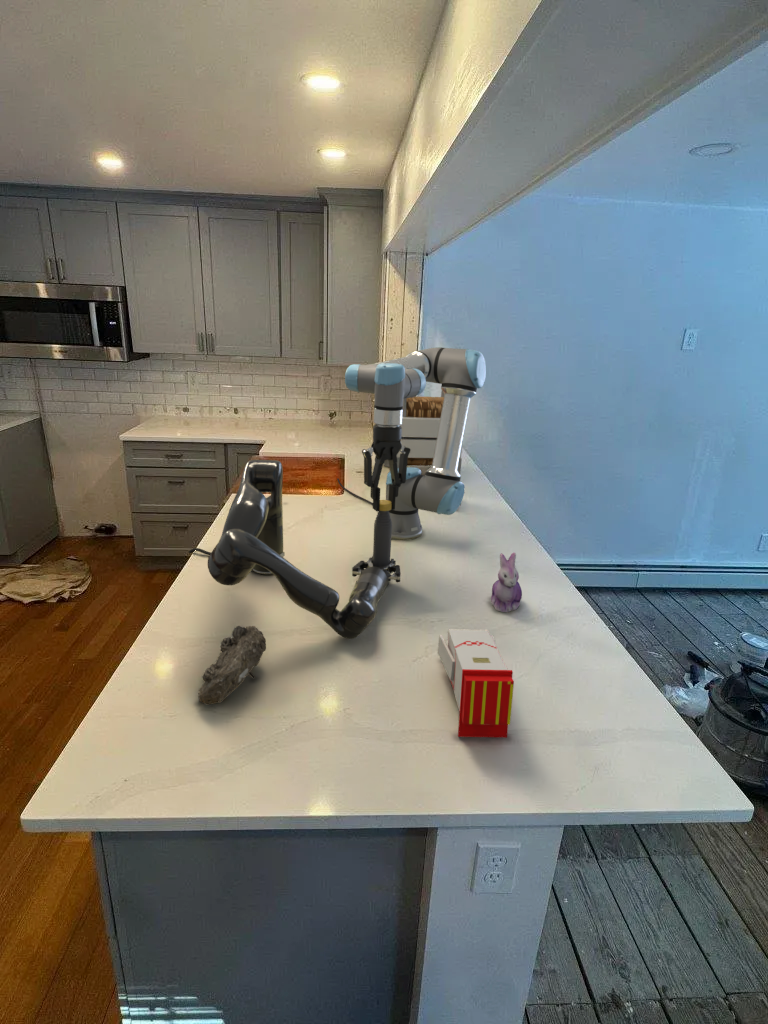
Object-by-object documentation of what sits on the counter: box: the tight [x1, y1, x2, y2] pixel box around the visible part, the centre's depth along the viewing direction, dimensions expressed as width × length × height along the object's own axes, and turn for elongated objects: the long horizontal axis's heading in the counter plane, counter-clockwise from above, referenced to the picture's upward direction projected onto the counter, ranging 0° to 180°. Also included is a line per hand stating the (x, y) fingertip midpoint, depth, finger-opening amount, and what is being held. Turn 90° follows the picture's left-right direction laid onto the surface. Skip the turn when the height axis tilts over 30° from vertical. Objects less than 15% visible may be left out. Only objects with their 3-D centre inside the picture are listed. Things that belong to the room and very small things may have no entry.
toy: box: [437, 628, 515, 738], centre depth 117 cm, size 12×13×30 cm
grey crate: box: [383, 390, 464, 475], centre depth 268 cm, size 34×33×41 cm
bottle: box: [372, 510, 392, 587], centre depth 160 cm, size 5×5×24 cm
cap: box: [379, 499, 392, 511], centre depth 156 cm, size 4×4×2 cm
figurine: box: [490, 551, 523, 613], centre depth 152 cm, size 9×10×15 cm
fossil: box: [197, 625, 267, 705], centre depth 118 cm, size 22×10×15 cm
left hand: (383, 560), depth 164 cm, fingers closed on bottle, 5 cm apart
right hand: (383, 508), depth 156 cm, fingers closed on cap, 4 cm apart
